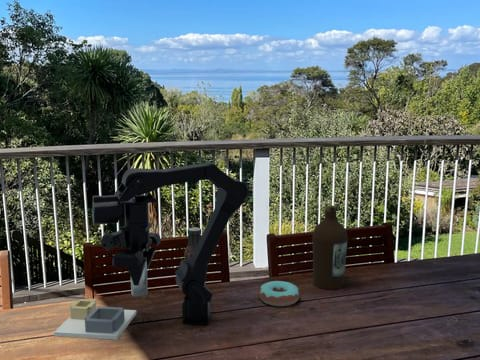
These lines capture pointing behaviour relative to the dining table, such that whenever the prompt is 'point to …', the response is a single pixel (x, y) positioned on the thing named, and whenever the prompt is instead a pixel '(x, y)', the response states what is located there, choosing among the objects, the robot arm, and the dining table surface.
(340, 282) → the olive oil
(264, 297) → the donut
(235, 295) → the dining table surface
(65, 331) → the fitting plate
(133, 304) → the dining table surface
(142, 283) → the metal cylinder
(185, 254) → the sauce bottle
